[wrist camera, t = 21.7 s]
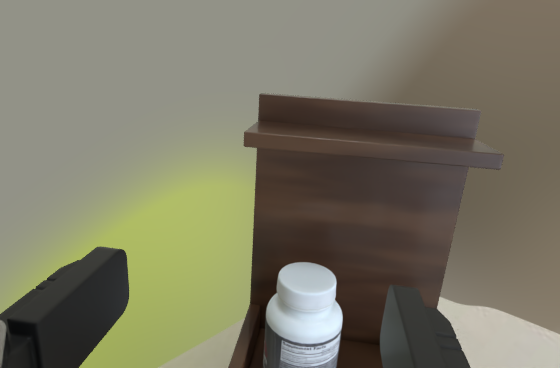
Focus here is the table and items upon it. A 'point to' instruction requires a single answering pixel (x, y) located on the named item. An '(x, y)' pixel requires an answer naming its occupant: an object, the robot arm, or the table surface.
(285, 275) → the pill bottle
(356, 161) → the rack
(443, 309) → the table surface
